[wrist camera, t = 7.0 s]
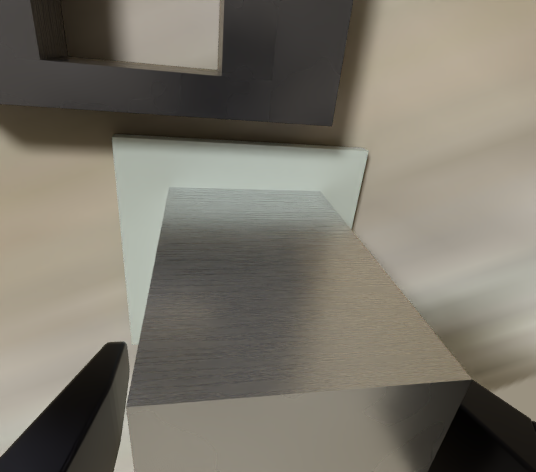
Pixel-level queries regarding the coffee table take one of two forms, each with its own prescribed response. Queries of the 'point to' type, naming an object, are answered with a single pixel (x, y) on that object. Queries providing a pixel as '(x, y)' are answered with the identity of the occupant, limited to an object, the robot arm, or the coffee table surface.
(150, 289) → the brushed metal block
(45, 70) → the slotted plate
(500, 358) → the coffee table surface
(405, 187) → the coffee table surface
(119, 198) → the mat
